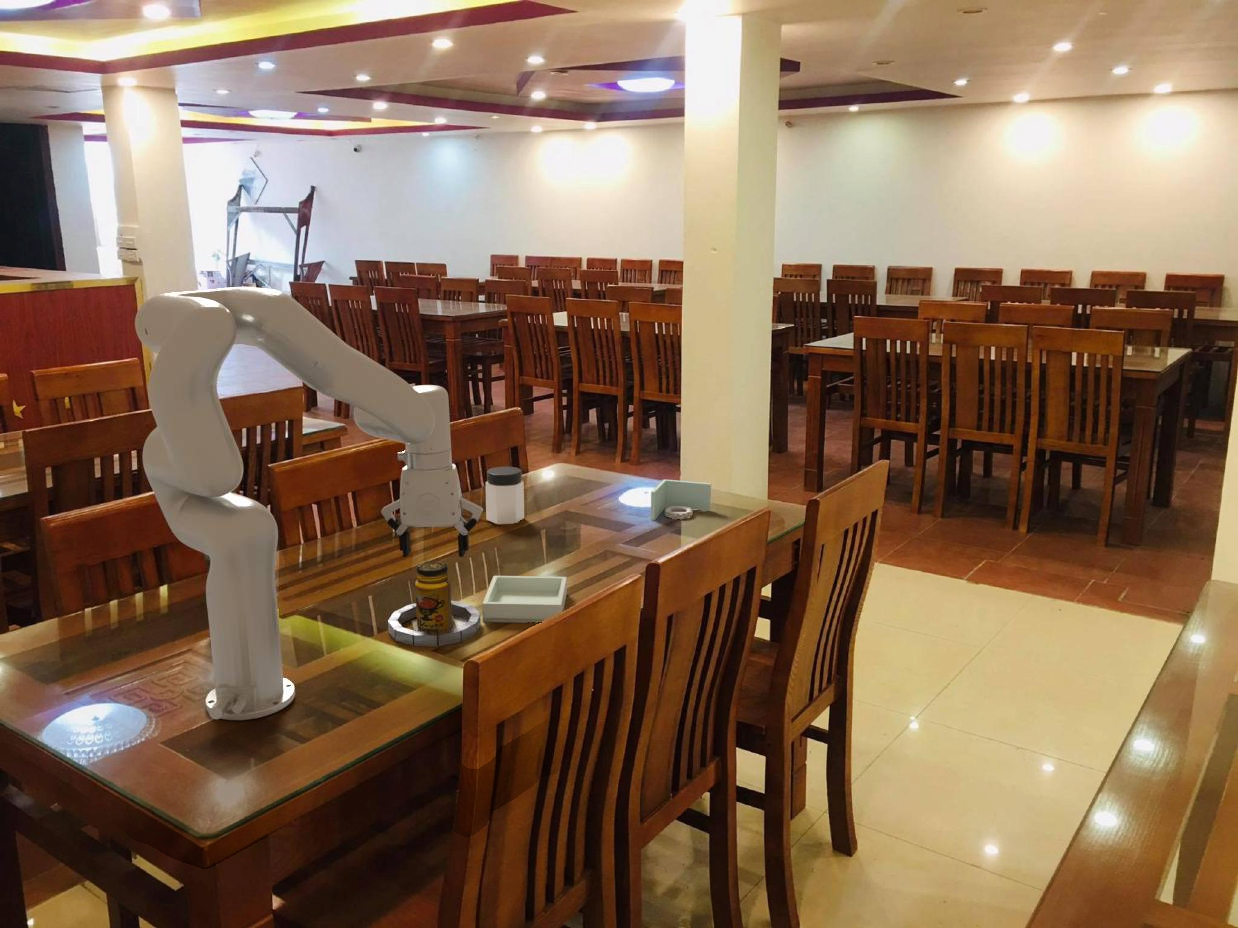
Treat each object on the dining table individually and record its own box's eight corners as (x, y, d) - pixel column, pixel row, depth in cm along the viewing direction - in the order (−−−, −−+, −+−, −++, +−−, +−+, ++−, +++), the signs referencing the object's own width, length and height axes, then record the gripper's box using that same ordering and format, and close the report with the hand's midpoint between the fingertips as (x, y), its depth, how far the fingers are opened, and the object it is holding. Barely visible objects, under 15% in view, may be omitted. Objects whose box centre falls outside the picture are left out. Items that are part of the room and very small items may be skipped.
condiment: (416, 640, 172) (413, 574, 169) (411, 621, 180) (408, 557, 177) (459, 635, 174) (457, 570, 171) (452, 616, 182) (450, 554, 179)
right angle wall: (650, 522, 240) (651, 491, 238) (663, 508, 251) (663, 479, 249) (699, 526, 236) (700, 496, 235) (710, 512, 248) (711, 483, 246)
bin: (561, 623, 180) (560, 604, 179) (482, 621, 180) (482, 603, 179) (566, 593, 193) (566, 576, 192) (494, 592, 193) (493, 575, 193)
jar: (498, 512, 244) (497, 464, 242) (528, 516, 242) (528, 467, 239) (481, 522, 236) (479, 473, 233) (512, 526, 234) (511, 476, 231)
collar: (471, 647, 169) (471, 636, 169) (380, 645, 170) (379, 634, 169) (485, 611, 184) (485, 601, 184) (401, 610, 185) (400, 599, 184)
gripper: (372, 465, 166) (379, 562, 171) (476, 464, 166) (481, 562, 170) (383, 453, 173) (390, 546, 178) (483, 453, 173) (487, 547, 178)
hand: (434, 554), depth 174 cm, fingers open, 9 cm apart
